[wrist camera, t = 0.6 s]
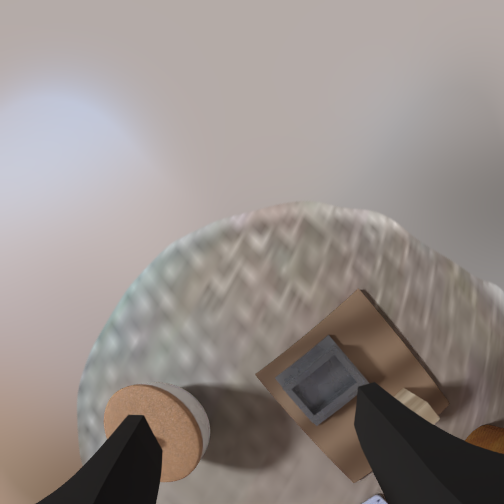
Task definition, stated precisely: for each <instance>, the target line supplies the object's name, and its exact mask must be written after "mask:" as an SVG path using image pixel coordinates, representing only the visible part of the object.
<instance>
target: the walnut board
mask: <svg viewBox="0 0 504 504" xmlns="http://www.w3.org/2000/svg"><path fill="white" fill-rule="evenodd" d="M327 335H329V336H330V337H331V338H332V339H333V341H334V342H335V343H336V344H337V345H338V346H339V348H340V349H341V350H342V351H343V352H344V354H345V355H346V356H347V357H348V358H349V360H350V361H351V362H352V363H353V364H354V365H355V367H356V368H357V369H358V370H359V371H360V373H361V374H362V375H363V376H364V377H365V379H366V380H367V381H368V382H369V383H373V382H375V383H377V384H378V385H379V386H381V387H382V388H383V389H384V390H386V391H387V392H388V393H390V394H391V395H392V396H393V397H394V396H395V395H396V394H397V393H398V392H399V391H401V390H402V389H403V388H405V389H407V390H408V391H410V392H411V393H413V394H415V395H416V396H418V397H419V398H421V399H423V400H424V401H426V402H428V404H429V405H430V406H431V408H432V409H433V410H434V412H435V413H436V414H437V415H439V414H440V413H441V412H442V411H443V410H444V409H445V408H446V407H447V406H448V405H449V404H450V403H449V402H448V400H447V399H446V397H445V396H444V395H443V393H442V392H441V391H440V389H439V388H438V387H437V385H436V384H435V383H434V381H433V380H432V379H431V377H430V376H429V375H428V374H427V372H426V371H425V370H424V368H423V367H422V366H421V364H420V363H419V362H418V361H417V359H416V358H415V357H414V355H413V354H412V353H411V352H410V350H409V349H408V348H407V347H406V345H405V344H404V343H403V342H402V340H401V339H400V338H399V337H398V335H397V334H396V333H395V332H394V330H393V329H392V328H391V327H390V326H389V324H388V323H387V322H386V321H385V319H384V318H383V317H382V316H381V315H380V313H379V312H378V311H377V310H376V309H375V307H374V306H373V305H372V304H371V303H370V302H369V300H368V299H367V298H366V297H365V296H364V294H363V293H362V292H361V291H360V290H359V289H357V290H356V291H355V292H354V293H353V294H352V295H351V296H350V297H349V298H347V299H346V300H345V301H344V302H343V303H342V304H341V305H340V306H338V307H337V308H336V309H335V310H334V311H333V312H332V313H331V314H329V315H328V316H327V317H326V318H325V319H324V320H322V321H321V322H320V323H319V324H318V325H317V326H315V327H314V328H313V329H312V330H311V331H309V332H308V333H307V334H306V335H305V336H303V337H302V338H301V339H300V340H299V341H297V342H296V343H295V344H294V345H292V346H291V347H290V348H289V349H287V350H286V351H285V352H284V353H282V354H281V355H280V356H279V357H277V358H276V359H275V360H273V361H272V362H271V363H270V364H268V365H267V366H266V367H264V368H263V369H262V370H260V371H259V372H258V373H256V374H255V375H256V376H257V378H258V379H259V380H260V381H261V382H262V384H263V385H264V386H265V387H266V388H267V390H268V391H269V392H270V393H271V394H272V395H273V397H274V398H275V399H276V400H277V401H278V402H279V404H280V405H281V406H282V407H283V408H284V409H285V411H286V412H287V413H288V414H289V415H290V416H291V417H292V418H293V420H294V421H295V422H296V423H297V424H298V425H299V426H300V427H301V429H302V430H303V431H304V432H305V433H306V434H307V435H308V436H309V437H310V438H311V439H312V441H313V442H314V443H315V444H316V445H317V446H318V447H319V448H320V449H321V450H322V451H323V452H324V453H325V454H326V455H327V456H328V457H329V459H330V460H331V461H332V462H333V463H334V464H335V465H336V466H337V467H338V468H339V469H340V470H341V471H342V472H343V473H344V474H345V475H346V476H347V477H348V478H349V479H350V480H351V481H352V482H353V483H355V482H357V481H358V480H360V479H361V478H363V477H364V476H366V475H367V474H368V473H370V472H371V471H372V469H371V467H370V465H369V463H368V461H367V459H366V457H365V454H364V452H363V450H362V448H361V445H360V442H359V439H358V436H357V433H356V430H355V427H354V420H355V411H356V402H357V395H356V396H355V397H354V398H353V399H351V400H350V401H349V402H348V403H346V404H345V405H344V406H343V407H341V408H340V409H339V410H337V411H336V412H335V413H334V414H332V415H331V416H330V417H328V418H327V419H326V420H324V421H323V422H321V423H320V424H319V425H317V426H316V425H315V424H314V423H312V422H311V421H310V420H309V418H308V417H307V416H306V415H305V414H304V413H303V412H302V410H301V409H300V408H299V407H298V406H297V405H296V404H295V402H294V401H293V400H292V399H291V398H290V397H289V396H288V394H287V393H286V392H285V391H284V390H283V389H282V388H283V387H282V386H281V385H280V384H279V383H278V381H277V380H276V379H275V377H276V376H277V375H279V374H280V373H281V372H283V371H284V370H285V369H287V368H288V367H289V366H290V365H292V364H293V363H294V362H295V361H297V360H298V359H299V358H301V357H302V356H303V355H304V354H305V353H307V352H308V351H309V350H310V349H312V348H313V347H314V346H315V345H316V344H318V343H319V342H320V341H321V340H322V339H324V338H325V337H326V336H327Z"/></svg>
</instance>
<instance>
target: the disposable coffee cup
mask: <svg viewBox="0 0 504 504" xmlns="http://www.w3.org/2000/svg"><path fill="white" fill-rule="evenodd" d="M465 441H466V442H468V443H471V444H473V445H476V446H479V447H482V448H485V449H488V450H491V451H495V452H498V453H502V454H504V428H500V427H496V426H492V425H483V426H480V427H479V428H477V429H476V430H474V431H473V432H472V433H471V434H470V435H469V436H468V437H467V439H466V440H465Z"/></svg>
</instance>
